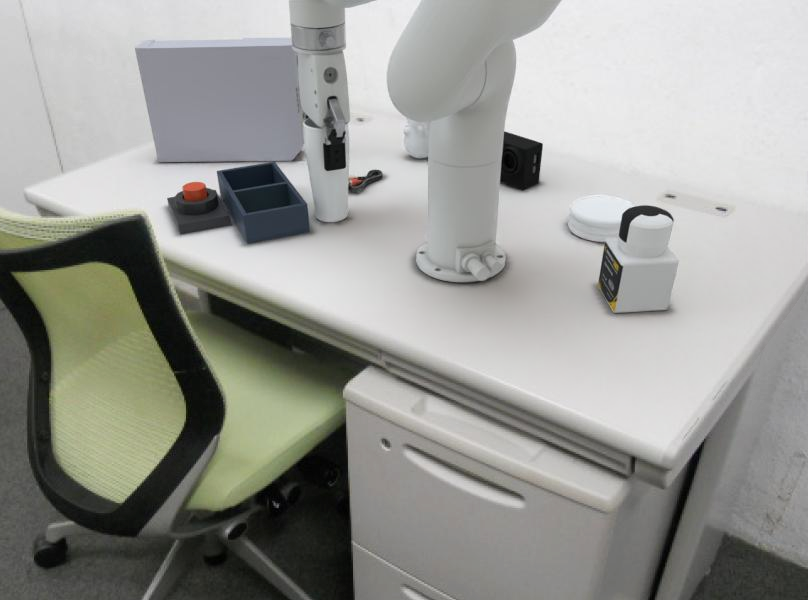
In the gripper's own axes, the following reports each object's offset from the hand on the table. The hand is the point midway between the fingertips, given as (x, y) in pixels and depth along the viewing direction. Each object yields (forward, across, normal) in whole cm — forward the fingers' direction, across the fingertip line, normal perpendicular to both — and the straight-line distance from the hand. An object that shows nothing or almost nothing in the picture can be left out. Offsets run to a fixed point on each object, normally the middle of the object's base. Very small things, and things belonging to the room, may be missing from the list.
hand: (325, 157), depth 118 cm
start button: (+7, +8, +19) cm, 22 cm away
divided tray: (+10, +5, +9) cm, 14 cm away
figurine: (+10, +17, -23) cm, 31 cm away
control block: (+10, +8, +19) cm, 23 cm away
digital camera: (+9, +1, -32) cm, 34 cm away
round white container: (+9, -22, -36) cm, 43 cm away
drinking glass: (+10, -1, 0) cm, 10 cm away
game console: (+10, +32, +8) cm, 35 cm away
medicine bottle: (+8, -41, -28) cm, 50 cm away
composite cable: (+10, +9, -9) cm, 16 cm away
